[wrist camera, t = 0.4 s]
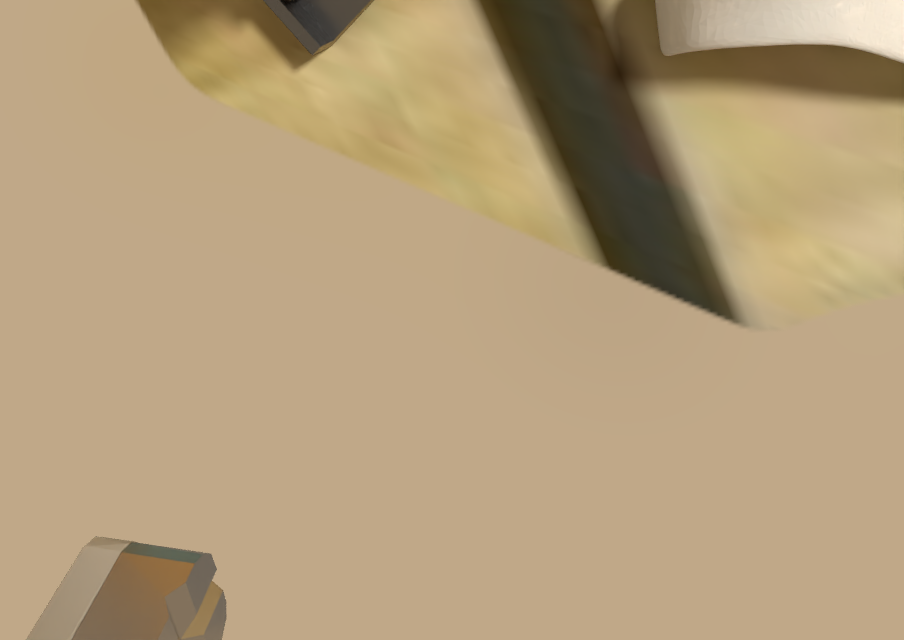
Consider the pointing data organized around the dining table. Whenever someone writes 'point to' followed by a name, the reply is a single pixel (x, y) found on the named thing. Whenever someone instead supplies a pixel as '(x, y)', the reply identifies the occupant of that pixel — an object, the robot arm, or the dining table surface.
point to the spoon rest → (781, 24)
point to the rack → (318, 19)
